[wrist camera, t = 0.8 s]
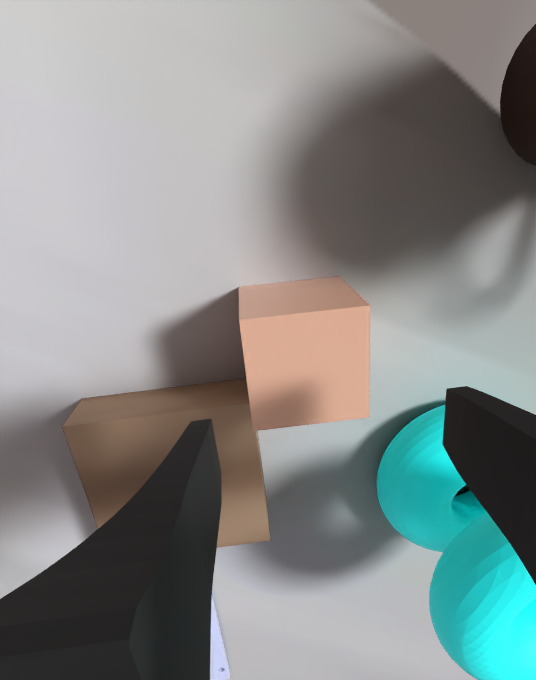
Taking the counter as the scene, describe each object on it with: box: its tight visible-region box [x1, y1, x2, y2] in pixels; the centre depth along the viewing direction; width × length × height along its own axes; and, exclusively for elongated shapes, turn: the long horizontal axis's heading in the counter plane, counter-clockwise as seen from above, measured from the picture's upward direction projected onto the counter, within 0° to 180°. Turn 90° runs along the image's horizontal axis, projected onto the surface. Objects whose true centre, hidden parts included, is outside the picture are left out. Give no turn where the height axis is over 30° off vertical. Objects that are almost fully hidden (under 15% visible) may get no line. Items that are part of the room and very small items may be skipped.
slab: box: [62, 378, 270, 548], centre depth 22 cm, size 9×9×3 cm
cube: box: [239, 276, 370, 431], centre depth 18 cm, size 5×5×5 cm
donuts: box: [377, 405, 536, 680], centre depth 20 cm, size 10×10×10 cm
